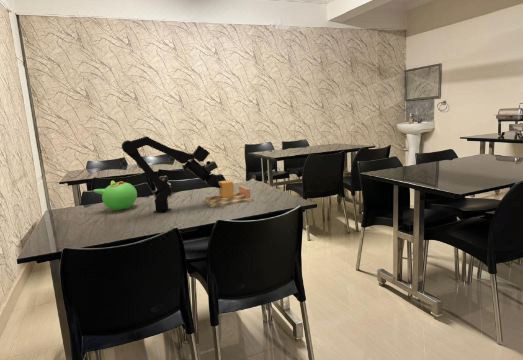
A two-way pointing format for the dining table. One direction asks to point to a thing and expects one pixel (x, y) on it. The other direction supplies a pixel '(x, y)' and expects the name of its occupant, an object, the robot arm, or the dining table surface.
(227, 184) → the orange block
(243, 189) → the stop band
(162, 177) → the medicine bottle
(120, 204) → the green teapot
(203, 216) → the dining table surface
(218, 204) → the checkered wooden board
